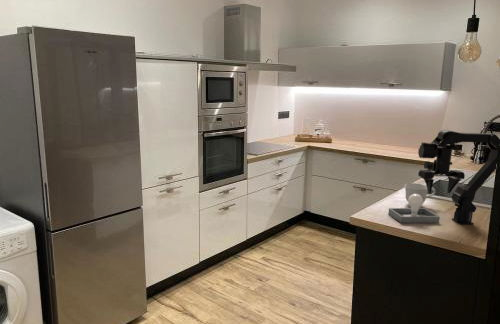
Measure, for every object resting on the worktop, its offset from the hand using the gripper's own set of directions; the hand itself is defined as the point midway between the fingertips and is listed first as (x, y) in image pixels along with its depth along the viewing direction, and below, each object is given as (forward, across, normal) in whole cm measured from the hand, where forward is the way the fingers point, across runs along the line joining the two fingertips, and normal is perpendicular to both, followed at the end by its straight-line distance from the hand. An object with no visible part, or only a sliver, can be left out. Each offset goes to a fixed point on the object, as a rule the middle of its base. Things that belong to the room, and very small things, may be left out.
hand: (438, 193), depth 174 cm
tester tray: (+13, +9, -3) cm, 16 cm away
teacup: (+13, -4, -22) cm, 26 cm away
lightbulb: (+12, +9, -3) cm, 16 cm away
